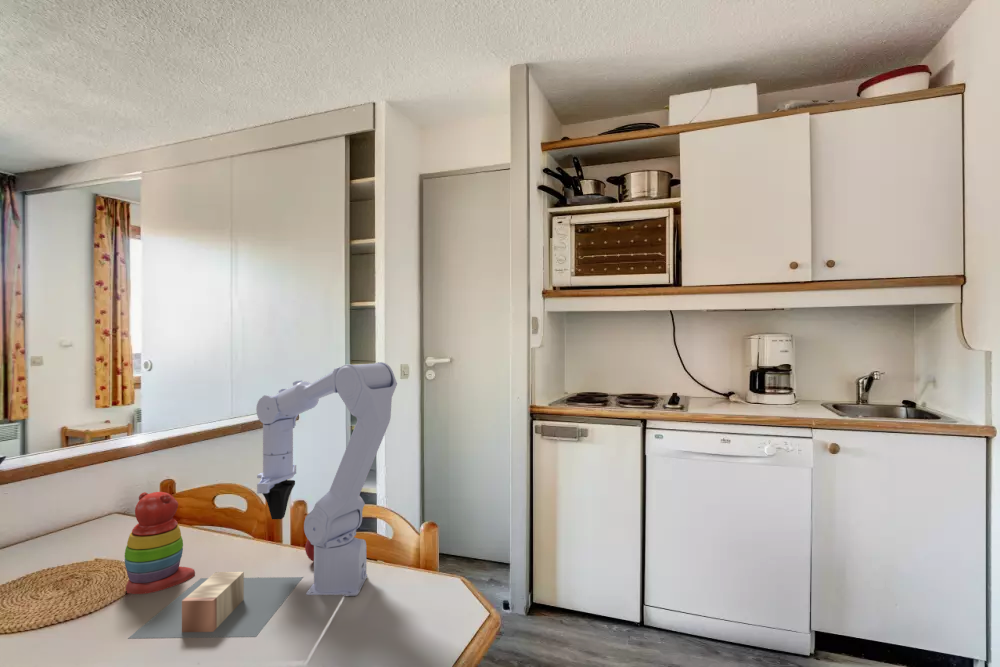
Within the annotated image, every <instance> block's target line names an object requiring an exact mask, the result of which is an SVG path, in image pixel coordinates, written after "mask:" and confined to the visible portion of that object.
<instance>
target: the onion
mask: <svg viewBox="0 0 1000 667" xmlns="http://www.w3.org/2000/svg"><path fill="white" fill-rule="evenodd" d="M304 546H305V548H304V551H305V555H306V556H307V558H308V559H309V560H310V561H312V562H313V563H314V545H312V544H311V542H310V541H309V540H308V539H307V540H306V543H305V545H304Z"/></svg>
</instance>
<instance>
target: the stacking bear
mask: <svg viewBox="0 0 1000 667" xmlns="http://www.w3.org/2000/svg"><path fill="white" fill-rule="evenodd" d="M178 508H179V502H178V501H177V500H176V498H175V497H174V496H173V495H172V494H170V493H168V492H163V491H155V492H150V493H148V492H146V491H145V492H141V493H140V494H139V496H138V501H137V503H136V505H135V508H134V515H135V518H136V521H137V522H138V523H137V524H135V526H134V527H133V528H132V530H131V532H130V534H129V536H128V539H127V542H126V546H125V551H124V566H125V569H126V573H127V578H128V581H127V583H126V586H125V592H126V591H127V592H126V593H127V594H133V595H143V594H144V595H145V594H149V593H155V592H159V591H163V590H167V589H169V588H172V587H175V586H177V585H180V584H182V583H184V582H186V581H188V580H190V579H192V578H193V577H195V576H196V575H195V574H196V572H195V569H194V568H193V567H188V566H180V564H181V560H182V557H183V551H184V542H183V541H184V540H183V537H182V532H181V528H180V525H178V521H177V520H176V519H175V518H174V516H175V514H176V512H177V510H178Z"/></svg>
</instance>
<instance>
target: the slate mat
mask: <svg viewBox="0 0 1000 667" xmlns="http://www.w3.org/2000/svg"><path fill="white" fill-rule="evenodd" d="M208 578H209V577H207V578H206V577H203V578H202V577H201V578H199V579H198V580H197V581H196V582H195V583H194V582H193V583H194V584H192V585H191V586H189V587H188V588H187V589H186V590H185V591H184V592H182V593H180V595H179V596H177V597H176V598H175V599H174V600H172V602H169V604H168V605H166V606H165V607H164V608H162V610H160V611H159V612H158V613H157V614H156V615H154V616H153V617H152V618H151V619H150V620H148V621H147V622H145V623H144V624H143V625H142V626H141V627H140V628H138V629H137V630H136V631H135V632H134V633H133V634H131V635H130V636H129V637H128V638H127V639H132V640H133V639H189V638H191V639H193V638H194V639H198V638H199V639H200V638H201V639H202V638H206V639H207V638H256V637H257V636H258V635H259V634H260V632H261V631H262V630H263V628H264V627H265V626H266V625H267V624H268V623H269V621H270V620H271V619H272V618H273V616H274V615H275V614H276V613H277V611H278V610H279V608H280V607H281V606H282V605H283V604H284V603H285V601H286V599H287V598H288V597H289V596H290V595H291V593H293V591H294V590H295V588H296V587H297V586H298V585H299V583H300V582H301V581H302V579H303V578H304V577H302V576H288V577H287V576H285V577H284V576H283V577H282V576H280V577H279V576H277V577H274V576H273V577H271V576H270V577H244V600H243V601H242V602H241V603H240V604H239V605H238V606H237V607H236V608H235V609H234V610H233V611H232V613H231V614H230V615H229V616H228V617H227V618H226V619H225V620H224V621H223V622H222V623H221V624H220V625H219V626H218V627H217V628H216V629H215V630H214V632H182V600H184V599H185V598H186V597H187V596H188V595H189V594H191V593H192V592H193V591H194V590H195V589H197V588H198V587H199V586H200V585H201V584H202V583H204V582H205V581H206V580H207V579H208Z"/></svg>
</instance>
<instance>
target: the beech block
mask: <svg viewBox="0 0 1000 667" xmlns="http://www.w3.org/2000/svg"><path fill="white" fill-rule="evenodd" d="M244 574H245V572H244V571H220V572H219V571H218V572H217V571H216V572H214V573H213V574H212V575H211V576H209V577H207V578H208V579H207V580H206V581H205V582H204V583H202V584H201V585H200V586H199V587H198V588H197V589H195V590H194V591H193V592H192V593H191V594H189V595H188V596H187V597H186V598H185V599H184V600H182V632H214V630H215V629H216V628H217V627H218V626H219V625H220V624H221V623H222V622H223V621H224V620H225V619H226V618H227V617H228V616H229V615H230V614H231V613H232V611H233V610H234V609H235V608H236V607H237V606H238V605H239V604H240V603H241V602H242V601H243V600H244V578H245V577H244Z"/></svg>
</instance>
